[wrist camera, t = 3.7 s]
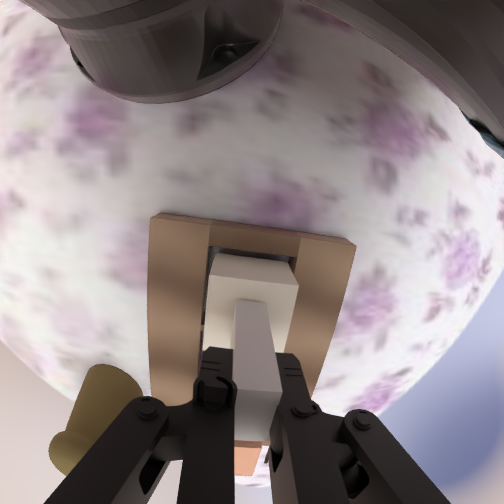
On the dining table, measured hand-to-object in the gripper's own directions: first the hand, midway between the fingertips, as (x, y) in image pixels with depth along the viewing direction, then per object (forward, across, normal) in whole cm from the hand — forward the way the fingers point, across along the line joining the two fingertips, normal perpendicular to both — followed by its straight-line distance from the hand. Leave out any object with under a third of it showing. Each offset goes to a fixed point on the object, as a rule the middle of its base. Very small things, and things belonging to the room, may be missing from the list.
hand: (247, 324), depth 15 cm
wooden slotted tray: (+6, 0, -6) cm, 8 cm away
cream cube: (+4, 0, 0) cm, 4 cm away
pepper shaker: (+6, -11, -13) cm, 18 cm away
